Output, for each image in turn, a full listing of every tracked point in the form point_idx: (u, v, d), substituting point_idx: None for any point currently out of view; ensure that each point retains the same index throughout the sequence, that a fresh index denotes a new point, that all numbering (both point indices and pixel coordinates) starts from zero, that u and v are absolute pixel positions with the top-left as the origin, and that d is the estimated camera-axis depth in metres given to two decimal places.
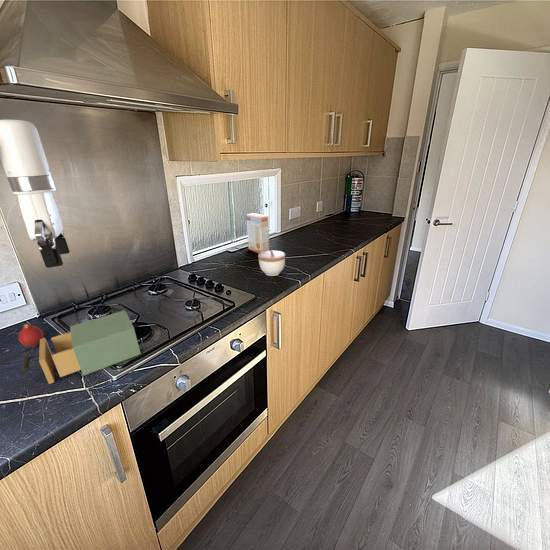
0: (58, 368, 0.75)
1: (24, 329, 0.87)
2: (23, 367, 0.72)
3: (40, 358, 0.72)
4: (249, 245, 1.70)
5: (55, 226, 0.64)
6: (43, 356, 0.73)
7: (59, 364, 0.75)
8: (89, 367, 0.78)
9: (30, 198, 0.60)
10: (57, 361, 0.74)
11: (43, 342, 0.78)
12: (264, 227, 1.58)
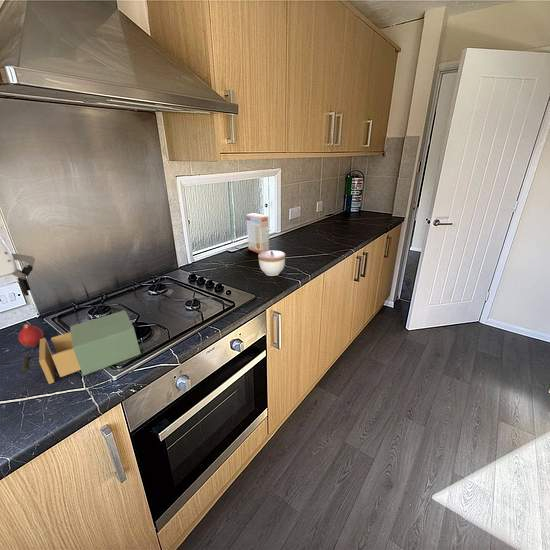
0: (58, 368, 0.75)
1: (24, 329, 0.87)
2: (23, 367, 0.72)
3: (40, 358, 0.72)
4: (249, 245, 1.70)
5: None
6: (43, 356, 0.73)
7: (59, 364, 0.75)
8: (89, 367, 0.78)
9: None
10: (57, 361, 0.74)
11: (43, 342, 0.78)
12: (264, 227, 1.58)
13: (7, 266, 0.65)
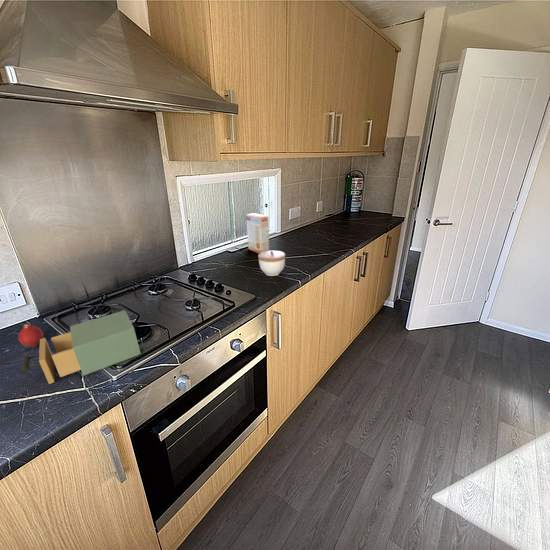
0: (58, 368, 0.75)
1: (24, 329, 0.87)
2: (23, 367, 0.72)
3: (40, 358, 0.72)
4: (249, 245, 1.70)
5: None
6: (43, 356, 0.73)
7: (59, 364, 0.75)
8: (89, 367, 0.78)
9: None
10: (57, 361, 0.74)
11: (43, 342, 0.78)
12: (264, 227, 1.58)
13: None
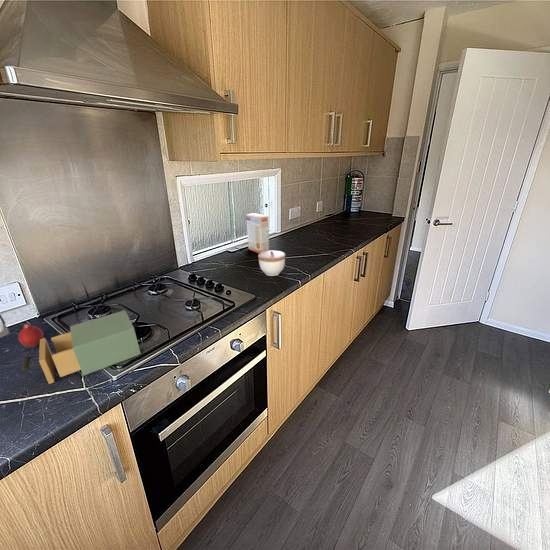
0: (58, 368, 0.75)
1: (24, 329, 0.87)
2: (23, 367, 0.72)
3: (40, 358, 0.72)
4: (249, 245, 1.70)
5: None
6: (43, 356, 0.73)
7: (59, 364, 0.75)
8: (89, 367, 0.78)
9: None
10: (57, 361, 0.74)
11: (43, 342, 0.78)
12: (264, 227, 1.58)
13: None
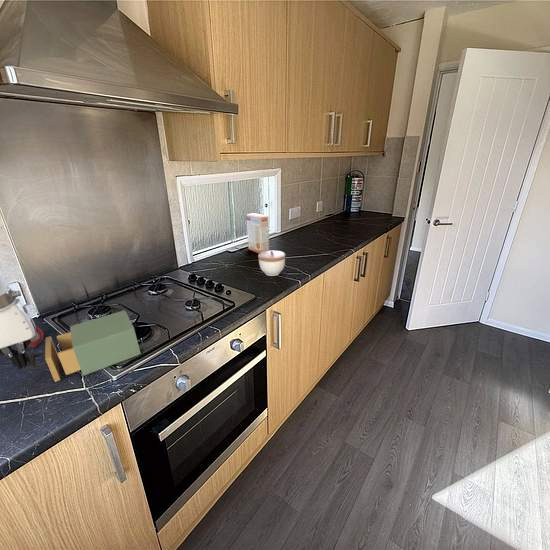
0: (64, 366, 0.76)
1: None
2: (29, 365, 0.73)
3: (46, 356, 0.73)
4: (249, 245, 1.70)
5: None
6: (49, 354, 0.73)
7: (65, 362, 0.75)
8: (89, 367, 0.78)
9: None
10: (63, 359, 0.75)
11: (49, 340, 0.79)
12: (264, 227, 1.58)
13: (25, 333, 0.71)
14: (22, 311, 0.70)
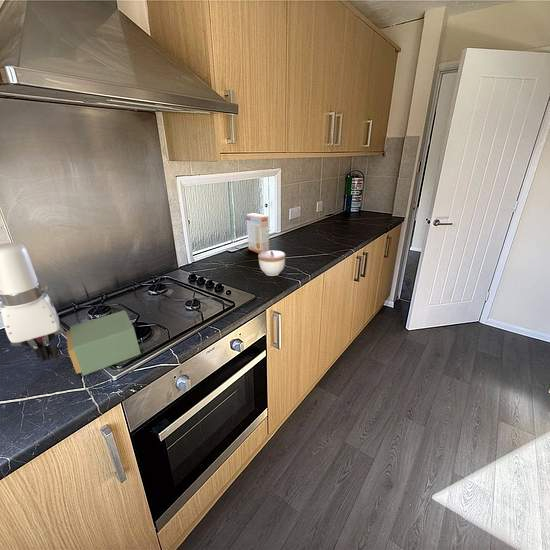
0: None
1: None
2: (52, 357, 0.76)
3: (69, 349, 0.75)
4: (249, 245, 1.70)
5: (15, 334, 0.70)
6: (71, 347, 0.76)
7: None
8: (89, 367, 0.78)
9: None
10: None
11: (69, 334, 0.81)
12: (264, 227, 1.58)
13: (51, 326, 0.73)
14: (49, 305, 0.72)
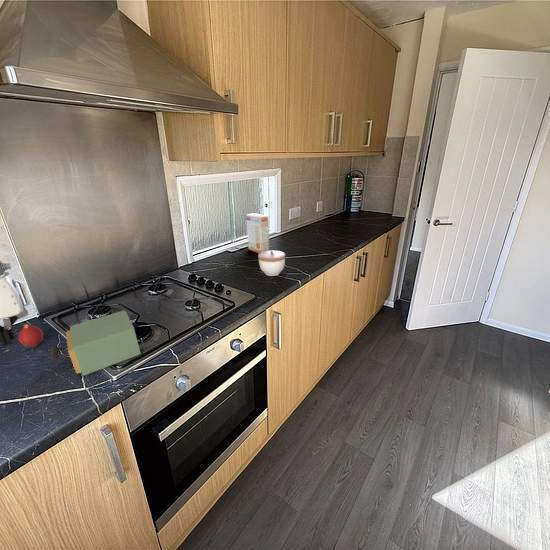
0: None
1: (24, 329, 0.87)
2: (52, 357, 0.76)
3: (69, 349, 0.75)
4: (249, 245, 1.70)
5: None
6: (71, 347, 0.76)
7: None
8: (89, 367, 0.78)
9: None
10: None
11: (69, 334, 0.81)
12: (264, 227, 1.58)
13: (13, 308, 0.68)
14: (11, 285, 0.67)
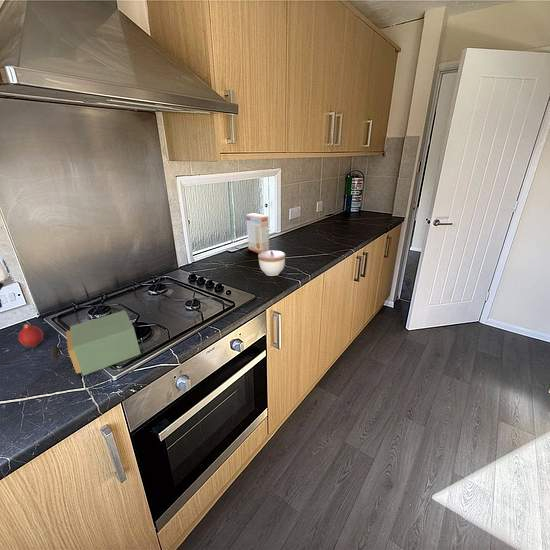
0: None
1: (24, 329, 0.87)
2: (52, 357, 0.76)
3: (69, 349, 0.75)
4: (249, 245, 1.70)
5: None
6: (71, 347, 0.76)
7: None
8: (89, 367, 0.78)
9: None
10: None
11: (69, 334, 0.81)
12: (264, 227, 1.58)
13: None
14: None
